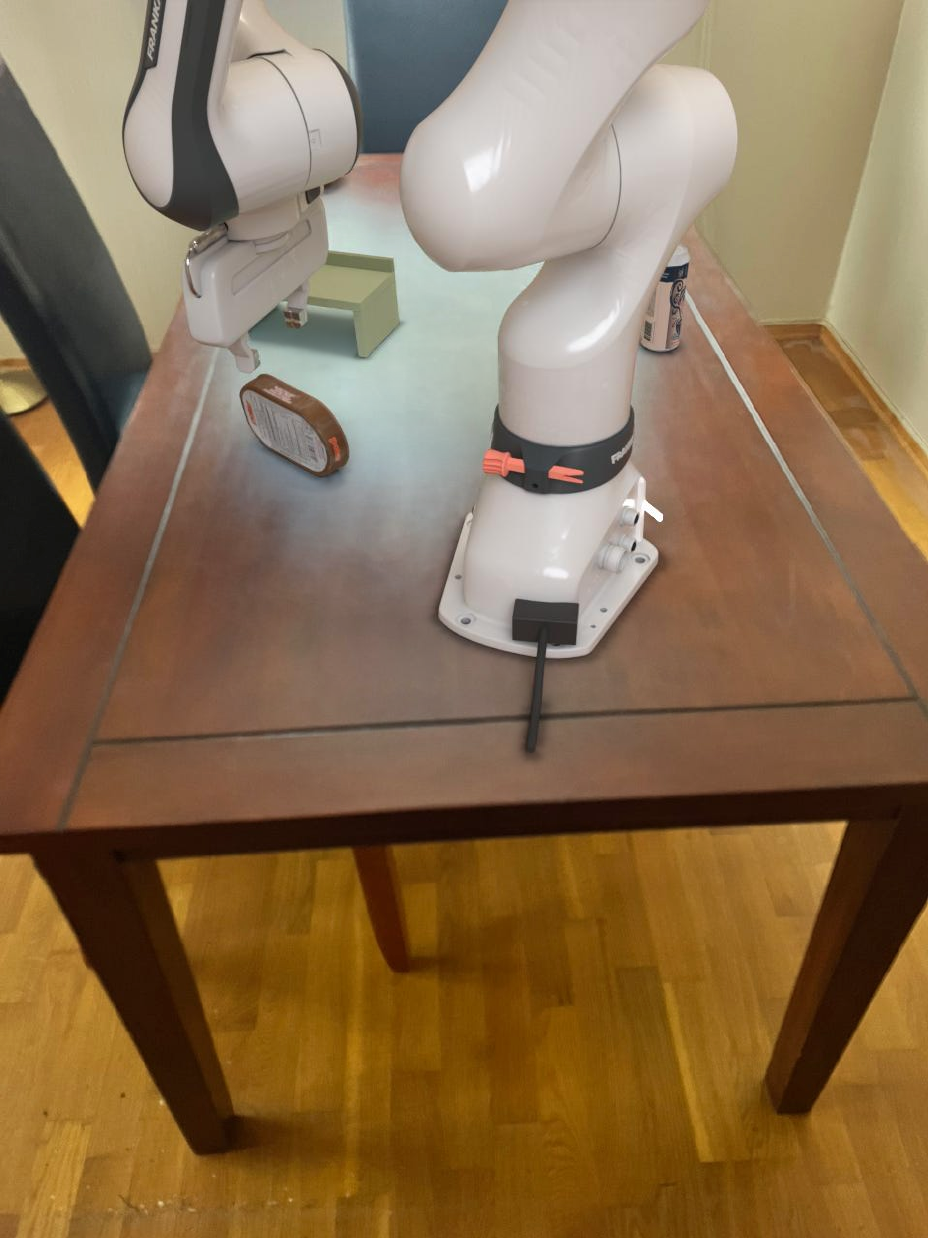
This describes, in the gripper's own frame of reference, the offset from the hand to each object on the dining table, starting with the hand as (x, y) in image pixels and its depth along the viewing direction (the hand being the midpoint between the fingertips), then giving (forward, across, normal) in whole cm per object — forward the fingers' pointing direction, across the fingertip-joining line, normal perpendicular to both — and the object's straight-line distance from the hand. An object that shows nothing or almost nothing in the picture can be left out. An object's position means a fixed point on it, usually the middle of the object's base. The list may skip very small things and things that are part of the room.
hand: (274, 346), depth 92 cm
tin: (+13, 0, -1) cm, 13 cm away
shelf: (+14, +28, +12) cm, 33 cm away
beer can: (+13, +36, -32) cm, 50 cm away
